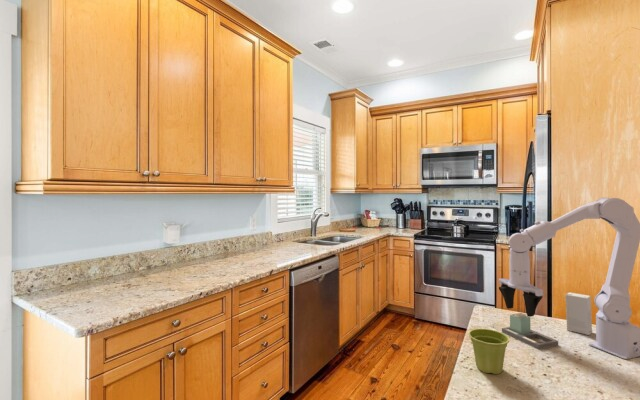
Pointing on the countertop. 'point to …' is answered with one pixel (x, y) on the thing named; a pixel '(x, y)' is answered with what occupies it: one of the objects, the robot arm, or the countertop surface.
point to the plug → (520, 323)
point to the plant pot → (489, 349)
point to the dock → (532, 334)
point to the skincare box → (579, 313)
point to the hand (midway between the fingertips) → (519, 312)
